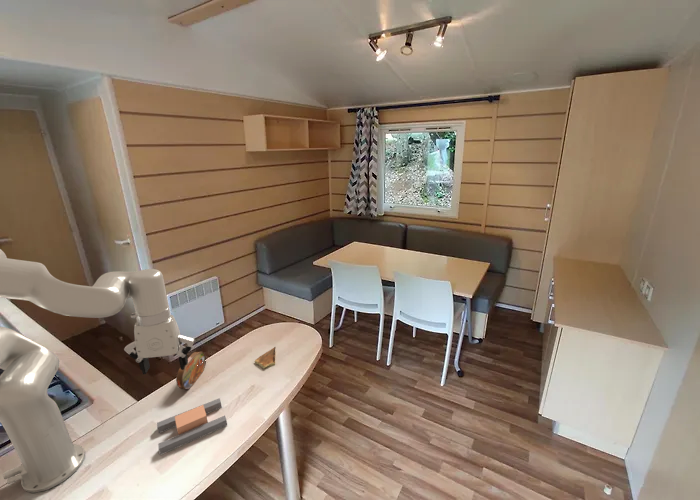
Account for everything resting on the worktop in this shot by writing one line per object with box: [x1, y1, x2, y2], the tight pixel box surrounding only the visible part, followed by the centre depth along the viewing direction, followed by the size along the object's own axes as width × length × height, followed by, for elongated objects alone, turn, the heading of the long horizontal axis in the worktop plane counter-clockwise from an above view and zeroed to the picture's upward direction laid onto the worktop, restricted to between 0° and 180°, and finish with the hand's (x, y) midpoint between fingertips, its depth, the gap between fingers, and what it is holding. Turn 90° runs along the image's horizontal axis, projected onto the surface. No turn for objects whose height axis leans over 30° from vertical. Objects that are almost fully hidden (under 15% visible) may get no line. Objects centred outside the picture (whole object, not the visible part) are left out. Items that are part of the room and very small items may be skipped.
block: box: [174, 404, 209, 435], centre depth 97 cm, size 8×5×4 cm, turn 124°
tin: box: [175, 351, 207, 390], centre depth 115 cm, size 15×3×8 cm, turn 175°
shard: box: [254, 346, 277, 369], centre depth 127 cm, size 11×8×2 cm
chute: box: [156, 397, 228, 456], centre depth 97 cm, size 18×10×2 cm, turn 122°
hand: (165, 368), depth 90 cm, fingers open, 9 cm apart
